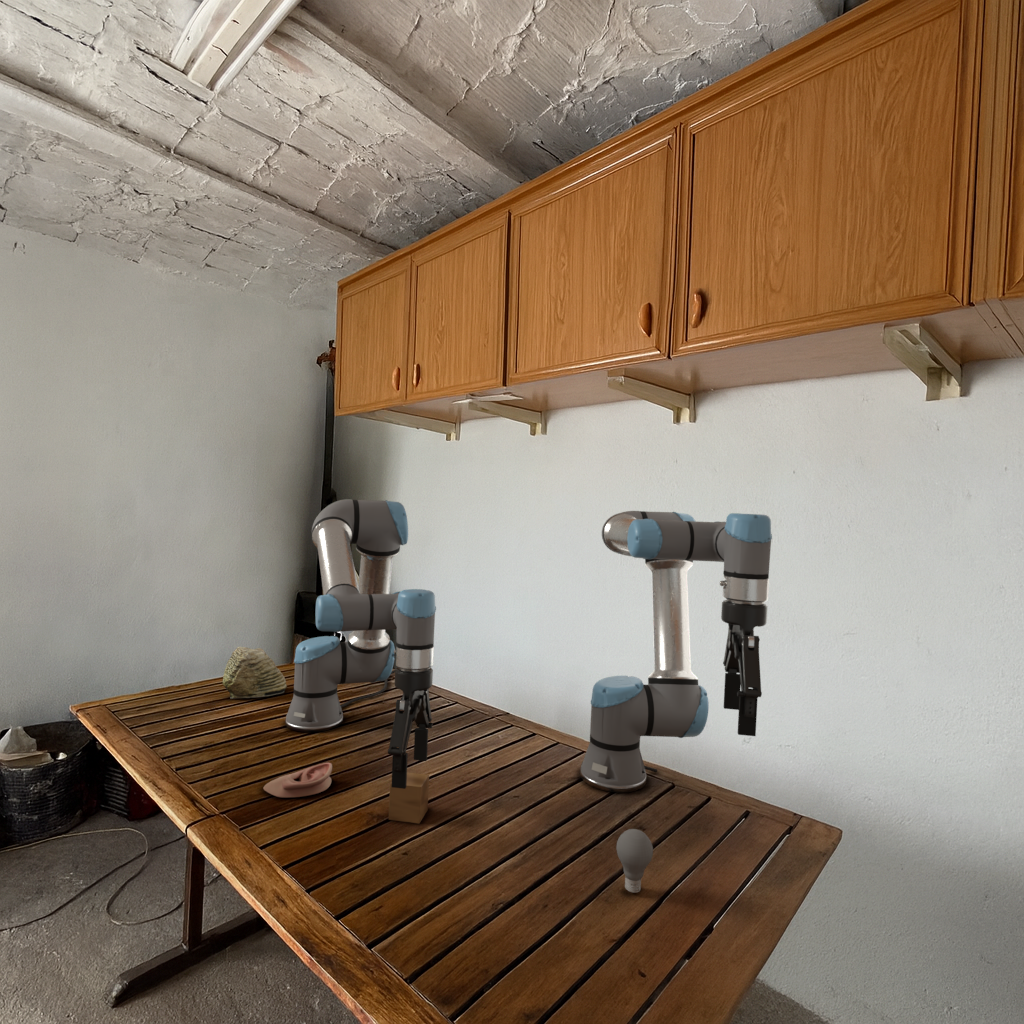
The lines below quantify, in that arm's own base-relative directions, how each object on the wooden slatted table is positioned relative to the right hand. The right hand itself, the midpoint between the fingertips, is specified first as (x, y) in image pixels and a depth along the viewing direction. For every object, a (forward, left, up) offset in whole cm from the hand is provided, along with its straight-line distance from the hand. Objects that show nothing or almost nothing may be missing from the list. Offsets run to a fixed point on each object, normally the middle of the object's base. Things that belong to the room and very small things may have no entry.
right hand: (738, 721), depth 112 cm
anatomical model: (+66, -60, -27) cm, 93 cm away
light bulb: (+20, -2, -27) cm, 34 cm away
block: (+47, -40, -27) cm, 68 cm away
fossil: (+71, -129, -27) cm, 150 cm away
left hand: (+47, -39, -18) cm, 64 cm away
